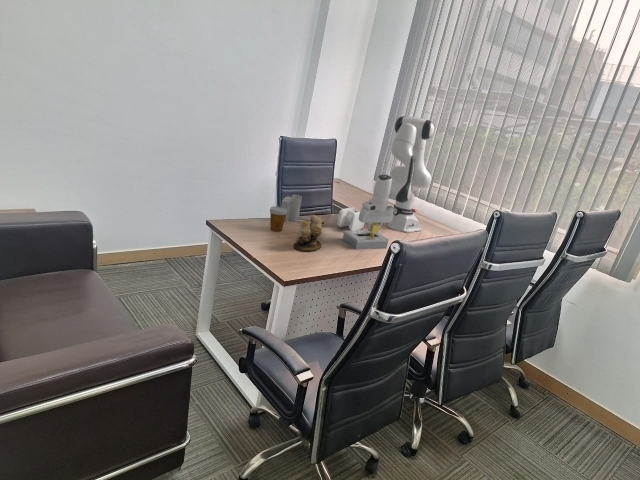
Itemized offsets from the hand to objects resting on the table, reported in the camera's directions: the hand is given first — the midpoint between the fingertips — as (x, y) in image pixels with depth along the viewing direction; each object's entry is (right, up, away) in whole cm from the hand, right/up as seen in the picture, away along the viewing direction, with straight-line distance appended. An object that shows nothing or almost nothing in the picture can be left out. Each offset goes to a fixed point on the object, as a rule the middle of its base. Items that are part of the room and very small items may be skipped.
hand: (373, 229), depth 220 cm
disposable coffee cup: (-53, 0, -1) cm, 53 cm away
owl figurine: (-35, -9, -16) cm, 40 cm away
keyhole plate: (-5, -8, +1) cm, 9 cm away
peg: (-1, -7, +2) cm, 8 cm away
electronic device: (-40, +5, +19) cm, 44 cm away
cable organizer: (-11, +1, +23) cm, 25 cm away
